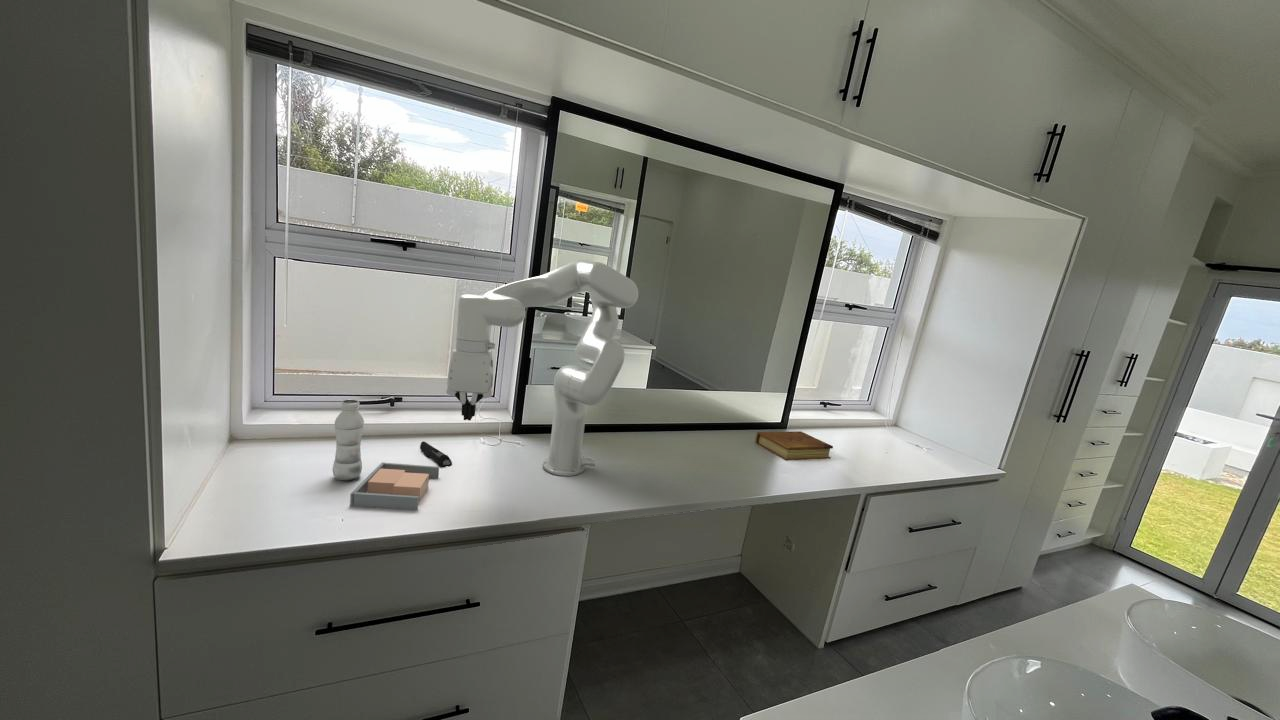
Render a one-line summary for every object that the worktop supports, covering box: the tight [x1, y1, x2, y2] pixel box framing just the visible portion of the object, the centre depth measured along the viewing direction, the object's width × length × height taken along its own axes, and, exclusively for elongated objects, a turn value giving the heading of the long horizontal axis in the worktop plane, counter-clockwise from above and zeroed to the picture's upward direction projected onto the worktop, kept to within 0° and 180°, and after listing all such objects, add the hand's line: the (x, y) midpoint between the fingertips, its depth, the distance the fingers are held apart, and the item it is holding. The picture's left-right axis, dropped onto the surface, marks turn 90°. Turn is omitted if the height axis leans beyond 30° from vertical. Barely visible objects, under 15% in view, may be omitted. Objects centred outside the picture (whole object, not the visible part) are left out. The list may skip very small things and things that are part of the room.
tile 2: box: [393, 472, 430, 503], centre depth 119 cm, size 6×8×4 cm
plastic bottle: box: [332, 399, 365, 481], centre depth 122 cm, size 6×7×20 cm
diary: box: [755, 430, 834, 461], centre depth 197 cm, size 23×19×6 cm
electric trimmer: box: [419, 441, 453, 468], centre depth 143 cm, size 4×16×3 cm, turn 47°
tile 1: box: [367, 469, 406, 495], centre depth 120 cm, size 6×8×4 cm
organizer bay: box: [349, 462, 440, 511], centre depth 120 cm, size 14×18×3 cm
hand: (468, 418), depth 121 cm, fingers closed
